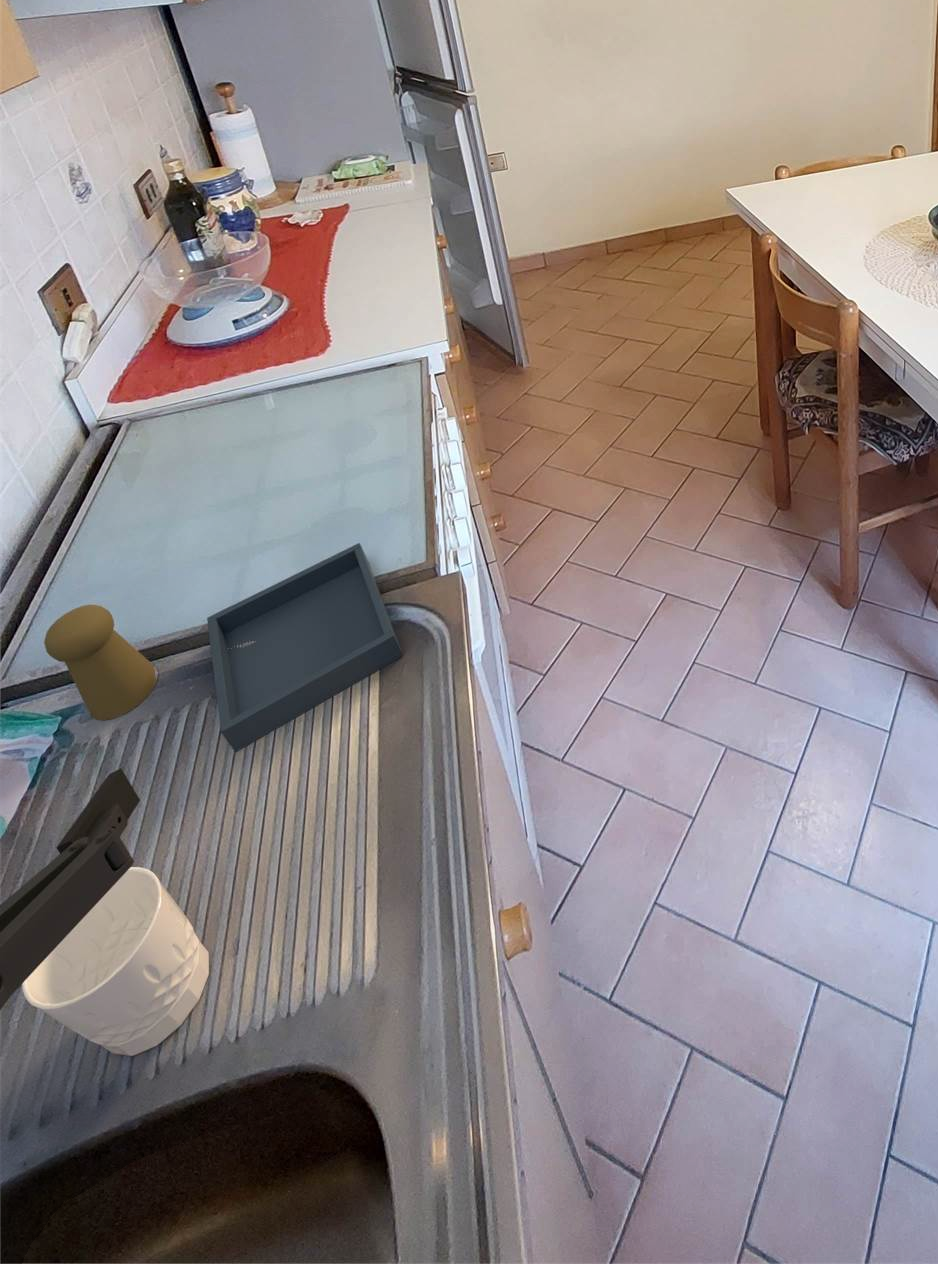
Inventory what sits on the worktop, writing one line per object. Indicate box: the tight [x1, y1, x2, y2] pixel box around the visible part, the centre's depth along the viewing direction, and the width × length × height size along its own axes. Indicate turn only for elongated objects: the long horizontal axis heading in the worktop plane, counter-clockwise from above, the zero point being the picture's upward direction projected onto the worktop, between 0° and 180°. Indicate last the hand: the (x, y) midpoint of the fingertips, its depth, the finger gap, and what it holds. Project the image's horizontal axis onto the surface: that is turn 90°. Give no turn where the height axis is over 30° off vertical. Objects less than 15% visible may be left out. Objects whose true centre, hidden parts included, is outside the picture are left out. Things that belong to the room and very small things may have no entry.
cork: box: [43, 604, 158, 721], centre depth 79 cm, size 6×6×11 cm
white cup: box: [21, 866, 210, 1057], centre depth 57 cm, size 8×8×10 cm
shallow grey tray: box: [206, 542, 404, 753], centre depth 83 cm, size 16×16×3 cm
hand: (13, 842), depth 53 cm, fingers open, 13 cm apart
